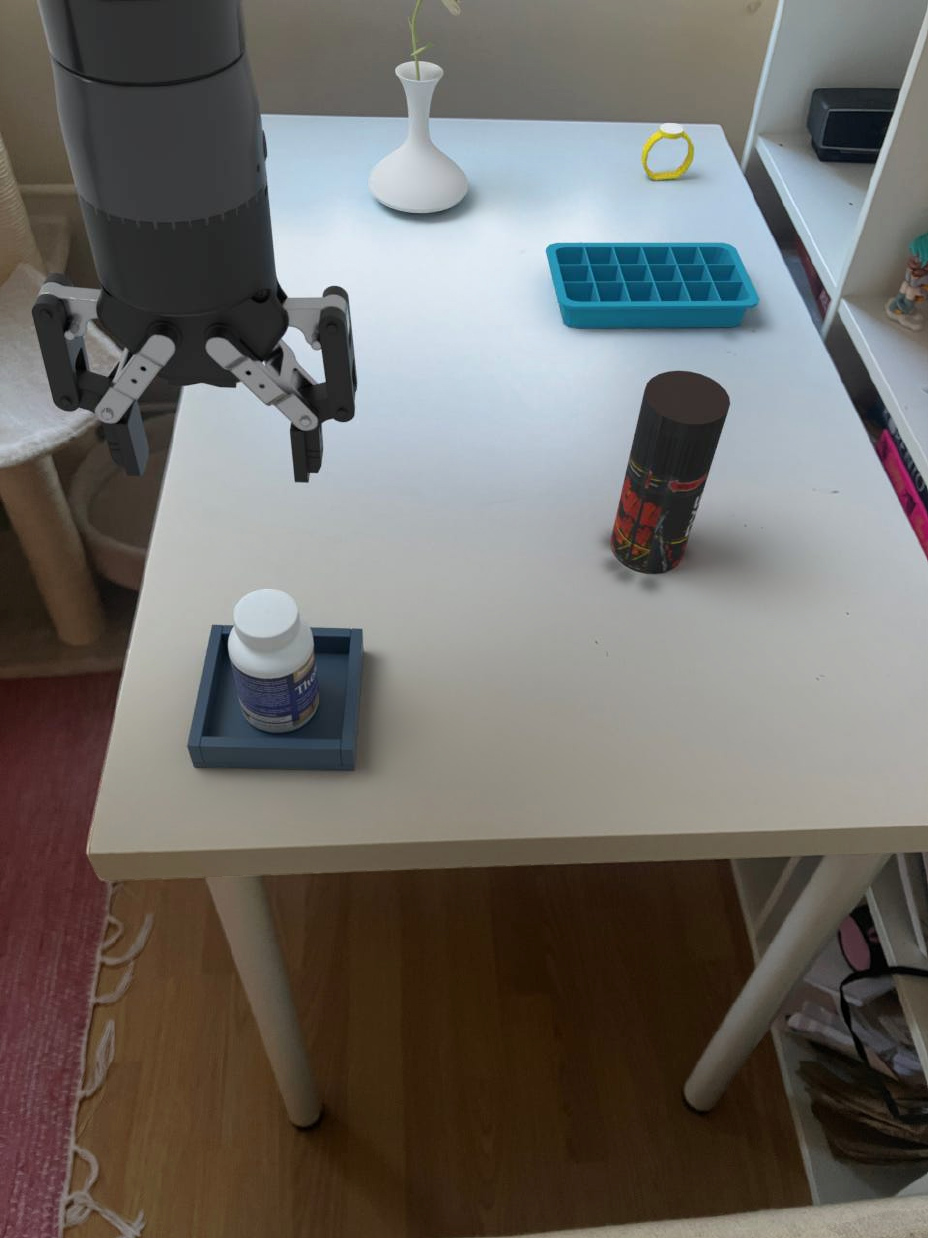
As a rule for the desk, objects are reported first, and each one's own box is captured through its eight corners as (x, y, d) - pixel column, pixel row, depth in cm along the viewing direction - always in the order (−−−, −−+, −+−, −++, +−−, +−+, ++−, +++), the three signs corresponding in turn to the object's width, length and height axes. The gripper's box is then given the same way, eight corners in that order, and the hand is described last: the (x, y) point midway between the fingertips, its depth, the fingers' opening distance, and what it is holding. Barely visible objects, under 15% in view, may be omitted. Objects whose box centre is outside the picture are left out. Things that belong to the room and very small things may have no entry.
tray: (193, 767, 66) (186, 746, 64) (217, 646, 73) (211, 624, 71) (354, 771, 67) (352, 749, 65) (363, 650, 73) (362, 628, 71)
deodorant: (614, 514, 83) (648, 364, 72) (686, 527, 83) (731, 378, 71) (606, 566, 79) (640, 416, 68) (681, 579, 79) (728, 430, 67)
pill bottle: (315, 737, 67) (304, 648, 60) (235, 734, 67) (214, 644, 60) (324, 673, 71) (314, 581, 63) (247, 669, 71) (229, 577, 63)
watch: (684, 171, 122) (695, 121, 117) (690, 182, 120) (701, 132, 116) (636, 172, 121) (645, 122, 117) (641, 183, 120) (651, 133, 115)
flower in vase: (467, 226, 112) (480, -30, 92) (364, 221, 111) (356, -36, 92) (468, 169, 120) (480, -76, 101) (372, 164, 120) (366, -82, 100)
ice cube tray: (754, 331, 101) (762, 305, 99) (556, 333, 99) (560, 306, 97) (726, 268, 108) (733, 242, 106) (541, 268, 107) (544, 242, 104)
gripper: (-41, 205, 37) (66, 515, 50) (343, 223, 38) (354, 524, 51) (13, 113, 42) (99, 417, 55) (354, 131, 43) (362, 427, 55)
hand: (222, 469), depth 53 cm, fingers open, 8 cm apart
